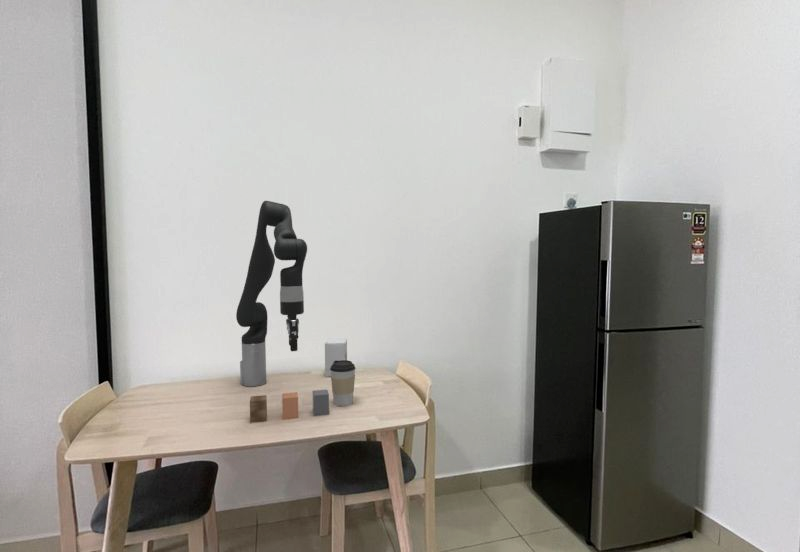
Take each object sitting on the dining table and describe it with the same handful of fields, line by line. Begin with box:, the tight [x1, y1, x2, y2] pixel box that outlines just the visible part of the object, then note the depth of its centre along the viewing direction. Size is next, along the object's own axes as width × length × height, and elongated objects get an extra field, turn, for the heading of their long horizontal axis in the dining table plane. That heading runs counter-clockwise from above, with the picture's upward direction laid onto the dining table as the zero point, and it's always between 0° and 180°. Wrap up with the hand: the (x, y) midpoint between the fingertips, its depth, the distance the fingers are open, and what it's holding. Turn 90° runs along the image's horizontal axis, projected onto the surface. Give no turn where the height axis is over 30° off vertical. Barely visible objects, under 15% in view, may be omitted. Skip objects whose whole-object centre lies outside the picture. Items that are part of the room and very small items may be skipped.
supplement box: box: [324, 338, 348, 378], centre depth 190 cm, size 9×9×15 cm
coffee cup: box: [330, 359, 356, 407], centre depth 155 cm, size 9×9×15 cm
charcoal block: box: [312, 389, 330, 417], centre depth 146 cm, size 5×5×7 cm
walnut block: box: [249, 394, 268, 424], centre depth 141 cm, size 5×5×7 cm
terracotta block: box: [281, 391, 299, 420], centre depth 144 cm, size 5×5×7 cm
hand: (293, 348), depth 143 cm, fingers open, 8 cm apart
